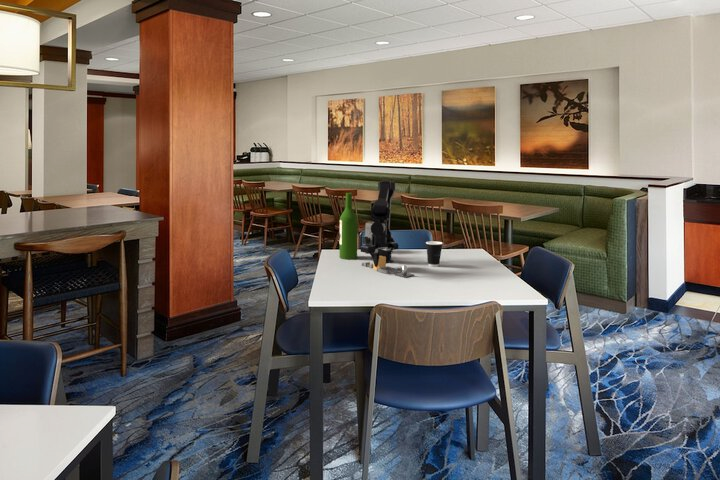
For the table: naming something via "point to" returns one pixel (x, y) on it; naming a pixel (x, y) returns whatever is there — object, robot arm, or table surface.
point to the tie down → (381, 266)
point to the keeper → (404, 272)
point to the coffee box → (368, 230)
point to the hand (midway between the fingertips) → (379, 266)
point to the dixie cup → (434, 252)
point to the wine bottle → (348, 231)
